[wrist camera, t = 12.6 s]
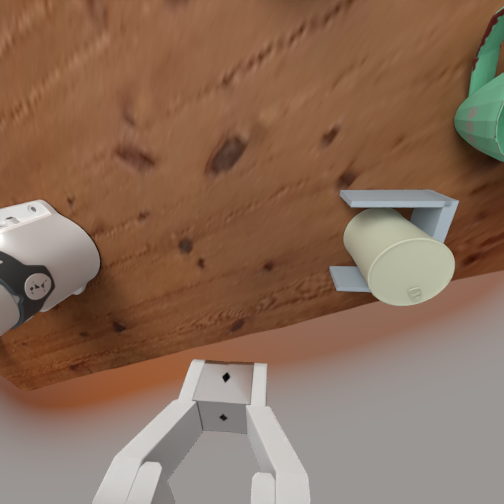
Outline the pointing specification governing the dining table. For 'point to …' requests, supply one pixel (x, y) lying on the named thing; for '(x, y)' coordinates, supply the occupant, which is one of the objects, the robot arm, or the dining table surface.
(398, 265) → the can
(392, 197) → the holder
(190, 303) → the dining table surface
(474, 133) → the mug
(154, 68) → the dining table surface
